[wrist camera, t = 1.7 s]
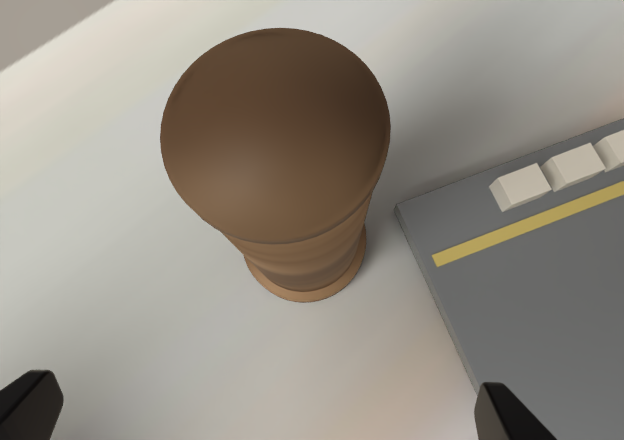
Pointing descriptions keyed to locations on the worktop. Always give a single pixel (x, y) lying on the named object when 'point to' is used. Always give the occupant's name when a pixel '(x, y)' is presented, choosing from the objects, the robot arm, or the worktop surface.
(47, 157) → the worktop surface
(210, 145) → the mill
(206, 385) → the worktop surface
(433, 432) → the worktop surface
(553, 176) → the set of cream blocks
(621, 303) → the panel
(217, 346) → the worktop surface
